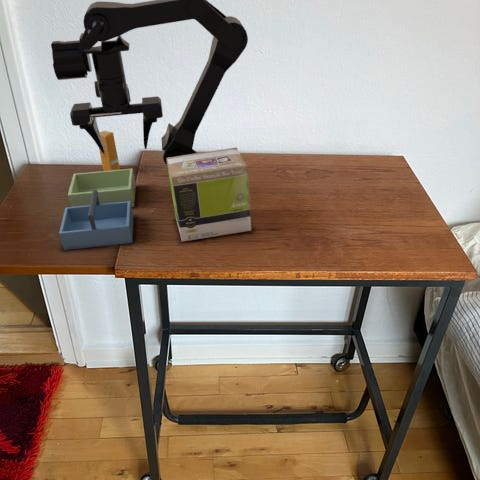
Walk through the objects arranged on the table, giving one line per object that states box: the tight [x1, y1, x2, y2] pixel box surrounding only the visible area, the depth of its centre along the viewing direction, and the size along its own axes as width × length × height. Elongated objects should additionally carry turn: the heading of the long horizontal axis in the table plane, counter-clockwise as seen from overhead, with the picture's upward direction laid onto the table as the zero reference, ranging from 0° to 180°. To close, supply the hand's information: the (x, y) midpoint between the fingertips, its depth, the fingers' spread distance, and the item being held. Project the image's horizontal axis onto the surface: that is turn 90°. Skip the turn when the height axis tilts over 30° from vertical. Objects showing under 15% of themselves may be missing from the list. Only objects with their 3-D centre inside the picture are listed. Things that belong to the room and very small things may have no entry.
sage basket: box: [67, 168, 137, 208], centre depth 125 cm, size 14×11×4 cm
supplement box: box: [98, 130, 121, 171], centre depth 135 cm, size 3×3×10 cm
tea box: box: [166, 147, 252, 243], centre depth 110 cm, size 15×10×15 cm, turn 102°
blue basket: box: [58, 190, 134, 251], centre depth 112 cm, size 14×11×7 cm
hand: (124, 150), depth 118 cm, fingers open, 9 cm apart
